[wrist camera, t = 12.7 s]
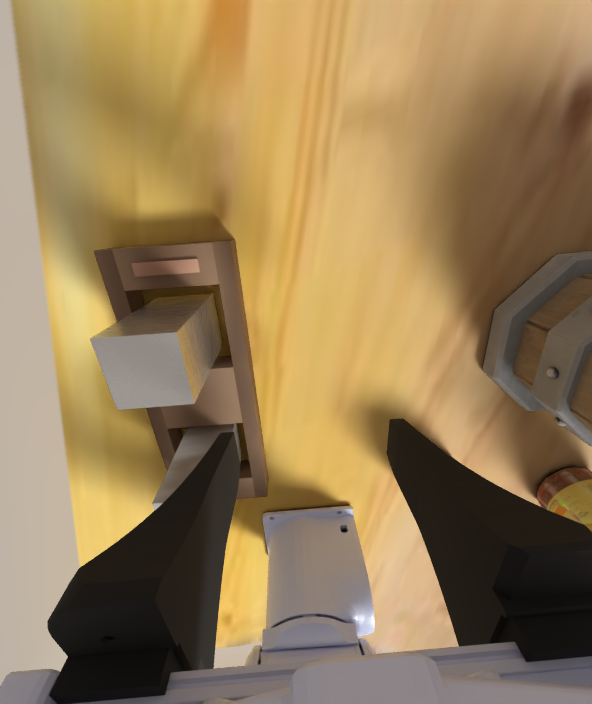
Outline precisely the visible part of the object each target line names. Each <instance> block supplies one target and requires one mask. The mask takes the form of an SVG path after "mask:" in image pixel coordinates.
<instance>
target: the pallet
mask: <svg viewBox="0 0 592 704" xmlns="http://www.w3.org/2000/svg"><path fill="white" fill-rule="evenodd" d="M94 254H95V257H96V260H97V263H98V266H99V269H100V272H101V275H102V278H103V281H104V284H105V287H106V290H107V293H108V296H109V299H110V302H111V305H112V308H113V311H114V314H115V316H116V319H117V322H118V321H120V320H122V319H123V318H125V317H126V316H128V315H130V314H131V313H133V312H135V311H136V310H138V309H140V308H141V307H143V306H145V304H144V301H143V297H142V294H141V290H145V289H159V288H174V287H188V286H202V285H216V284H219V287H220V293H221V299H222V305H223V311H224V317H225V322H226V328H227V334H228V340H229V346H230V352H231V356H227V357H217V358H216V360H215V362H214V364H213V366H212V368H211V370H210V373H209V375H208V377H207V379H206V381H205V383H204V385H203V387H202V389H201V391H200V393H199V395H198V398H197V400H196V402H195V404H187V405H174V406H162V407H149V408H146V409H147V412H148V415H149V418H150V421H151V424H152V427H153V430H154V433H155V436H156V439H157V442H158V445H159V448H160V451H161V454H162V457H163V460H164V463H165V466H166V469H167V473H166V475H165V477H164V479H163V481H162V484H161V486H160V488H159V490H158V492H157V494H156V497H155V499H154V501H153V503H152V504H153V507H154V509H155V510H156V509H157V508H158V507H159V506H160V505H161V504H162V503H164V502H165V500H166V499H167V498H168V497H169V496H170V495H171V494H172V493H173V492H174V491H175V490H176V489H177V488H178V487H179V486H180V485H181V484H182V482H183V481H184V480H185V479H186V478H187V476H188V475H189V474H190V473H191V472H192V471H193V469H194V468H195V467H196V466H197V464H198V463H199V462H200V460H201V459H202V458H203V456H204V455H205V454H206V452H207V451H208V450H209V448H210V447H211V445H212V444H213V443H214V441H215V440H216V438H217V437H218V435H219V434H220V433H224V432H234V434H235V439H236V444H237V449H238V455H239V460H240V476H239V486H238V491H237V496H236V499H241V498H254V497H266V496H267V495H268V473H267V465H266V458H265V451H264V444H263V437H262V430H261V422H260V415H259V408H258V401H257V394H256V387H255V379H254V372H253V365H252V358H251V351H250V344H249V336H248V329H247V322H246V315H245V308H244V301H243V293H242V286H241V279H240V272H239V265H238V258H237V250H236V243H235V240H222V241H207V242H193V243H178V244H164V245H149V246H134V247H120V248H109V249H102V250H95V251H94ZM237 423H243V427H244V433H245V439H246V445H247V451H248V457H249V461H242V462H241V457H242V450H241V445H240V439H239V434H238V428H237ZM183 427H187V429H186V432H185V434H184V436H183V437H182V434H181V430H180V428H183Z"/></svg>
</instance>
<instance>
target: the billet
mask: <svg viewBox="0 0 592 704" xmlns="http://www.w3.org/2000/svg"><path fill="white" fill-rule="evenodd" d="M90 341H91V343H92V346H93V348H94V351H95V353H96V356H97V359H98V361H99V364H100V366H101V369H102V371H103V374H104V377H105V379H106V382H107V384H108V387H109V389H110V392H111V395H112V397H113V400H114V402H115V405H116V407H117V410H124V409H136V408H149V407H162V406H174V405H187V404H195V402H196V400H197V398H198V395H199V393H200V391H201V389H202V387H203V385H204V383H205V381H206V379H207V377H208V375H209V373H210V370H211V368H212V366H213V364H214V362H215V360H216V358H217V356H218V354H219V352H220V350H221V347H222V345H223V342H222V337H221V331H220V326H219V321H218V315H217V310H216V304H215V299H214V293H212V294H199V295H185V296H172V297H158V298H156V299H154V300H153V301H151V302H149V303H148V304H146V305H145V306H143V307H141V308H140V309H138V310H136V311H135V312H133V313H131V314H130V315H128V316H126V317H125V318H123V319H122V320H120V321H118V322H117V323H115V324H113V325H112V326H110V327H108V328H107V329H105V330H104V331H102V332H100V333H99V334H97V335H95V336H94V337H92V338H90Z"/></svg>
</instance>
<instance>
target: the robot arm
mask: <svg viewBox="0 0 592 704" xmlns="http://www.w3.org/2000/svg"><path fill="white" fill-rule="evenodd" d="M387 456H388V459H389V462H390V465H391V468H392V471H393V474H394V476H395V478H396V480H397V483H398V485H399V487H400V489H401V491H402V493H403V495H404V497H405V499H406V501H407V503H408V506H409V508H410V510H411V512H412V514H413V516H414V518H415V520H416V522H417V525H418V527H419V529H420V532H421V534H422V537H423V540H424V542H425V545H426V548H427V550H428V553H429V556H430V559H431V562H432V564H433V567H434V570H435V573H436V576H437V579H438V582H439V585H440V588H441V591H442V594H443V597H444V600H445V603H446V606H447V609H448V612H449V615H450V618H451V622H452V625H453V628H454V632H455V635H456V638H457V641H458V645H459V647H449V648H438V649H427V650H416V651H405V652H394V653H383V654H376V653H375V651H374V649H373V648H372V647H371V646H370V645H369V643H368V642H367V640H366V639H364V638H363V639H358V637H360V636H363V635H368V634H371V633H373V632H374V628H375V621H374V609H373V601H372V595H371V589H370V584H369V579H368V574H367V570H366V566H365V562H364V558H363V553H362V549H361V545H360V541H359V537H358V533H357V529H356V525H355V520H354V516H353V508H352V507H351V506H339V507H327V508H315V509H302V510H290V511H278V512H267V513H264V514H263V518H262V519H263V525H264V531H265V538H266V544H267V550H268V556H269V564H268V589H267V614H266V629H263V637H262V647H261V645H259V646H254V648H253V649H252V652H251V653H250V654H249V656H248V657H247V660H246V664H245V666H239V667H227V668H216V669H213V667H214V654H215V642H216V631H217V621H218V610H219V600H220V591H221V582H222V573H223V565H224V557H225V549H226V543H227V538H228V533H229V528H230V524H231V519H232V515H233V510H234V505H235V501H236V496H237V491H238V486H239V476H240V460H239V455H238V449H237V444H236V439H235V434H234V432H224V433H220V434H219V435H218V437H217V438H216V440H215V441H214V443H213V444H212V445H211V447H210V448H209V450H208V451H207V452H206V454H205V455H204V456H203V458H202V459H201V460H200V462H199V463H198V464H197V466H196V467H195V468H194V469H193V471H192V472H191V473H190V474H189V475H188V476H187V478H186V479H185V480H184V481H183V482H182V484H181V485H180V486H179V487H178V488H177V489H176V490H175V491H174V492H173V493H172V494H171V495H170V496H169V497H168V498H167V499H166V500H165V502H164V503H162V504H161V505H160V506H159V507H158V508H157V509H156V510H155V511H154V512H153V513H152V514H150V515H149V516H148V517H147V518H146V519H145V520H144V521H143V522H141V523H140V524H139V525H138V526H137V527H135V528H134V529H133V530H132V531H130V532H129V533H128V534H127V535H125V536H124V537H123V538H121V539H120V540H119V541H118V542H116V543H115V544H113V545H112V546H111V547H109V548H108V549H107V550H105V551H104V552H102V553H101V554H99V555H98V556H96V557H95V558H94V559H92V560H91V561H89V562H88V563H86V564H85V565H83V566H82V567H80V568H79V569H78V571H77V572H76V574H75V576H74V577H73V579H72V580H71V582H70V583H69V585H68V587H67V589H66V590H65V592H64V594H63V595H62V597H61V599H60V601H59V603H58V604H57V606H56V608H55V609H54V611H53V613H52V615H51V616H50V618H49V620H48V630H49V633H50V634H51V636H52V638H53V639H54V640H55V641H56V642H57V644H58V645H59V646H60V647H61V648H62V650H63V651H64V652H65V653H66V654H67V656H68V658H67V660H66V662H65V664H64V666H63V668H62V670H61V672H59V671H57V670H53V669H41V670H30V671H19V672H11V673H10V674H8V675H7V676H6V678H5V679H4V681H3V682H2V685H1V686H0V704H592V531H591V530H590V529H589V528H588V527H587V526H585V525H584V524H581V523H579V522H576V521H574V520H571V519H569V518H566V517H564V516H561V515H559V514H556V513H554V512H551V511H549V510H546V509H544V508H542V507H540V506H538V505H535V504H533V503H531V502H529V501H527V500H525V499H522V498H520V497H518V496H516V495H514V494H512V493H510V492H509V491H507V490H505V489H503V488H501V487H499V486H497V485H495V484H494V483H492V482H490V481H488V480H486V479H485V478H483V477H481V476H480V475H478V474H477V473H475V472H473V471H472V470H470V469H468V468H467V467H465V466H464V465H462V464H461V463H459V462H458V461H457V460H455V459H454V458H452V457H451V456H449V455H448V454H447V453H445V452H444V451H443V450H441V449H440V448H439V447H437V446H436V445H435V444H434V443H432V442H431V441H430V440H429V439H427V438H426V437H425V436H424V435H422V434H421V433H420V432H419V431H418V430H416V429H415V428H414V427H413V426H412V425H410V424H409V423H408V422H407V421H405V420H404V419H390V423H389V434H388V445H387Z"/></svg>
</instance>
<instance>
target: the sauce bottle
mask: <svg viewBox="0 0 592 704" xmlns="http://www.w3.org/2000/svg"><path fill="white" fill-rule="evenodd" d="M537 500H538V501H539V503H540V505H541V506H542V507H543V508H544V509H546V510H549V511H551V512H554V513H556V514H559V515H561V516H564V517H566V518H569V519H571V520H574V521H576V522H579V523H581V524H584V525H585V526H587V527H588V528H589V529H590V530H591V531H592V472H591V471H590V470H588V469H585V468H579V467H571V468H564V469H562V470H560V471H558V472H556V473H554V474H552V475H550V476H548V477H547V478H545V479H544V481H543V482H542V484H541V485H540V486H539V488H538V491H537Z"/></svg>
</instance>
